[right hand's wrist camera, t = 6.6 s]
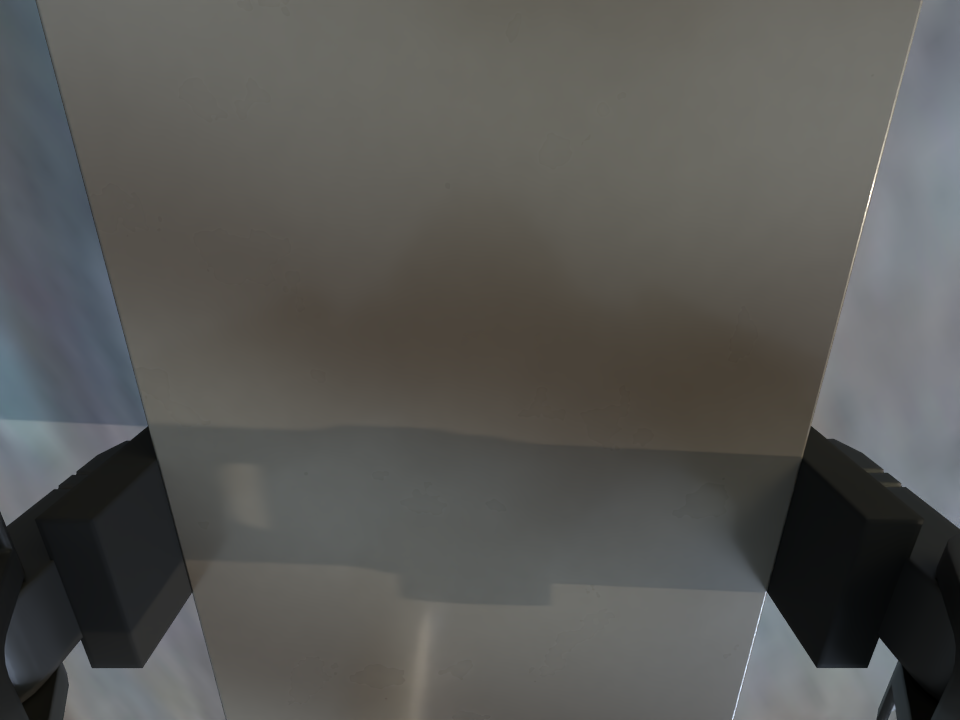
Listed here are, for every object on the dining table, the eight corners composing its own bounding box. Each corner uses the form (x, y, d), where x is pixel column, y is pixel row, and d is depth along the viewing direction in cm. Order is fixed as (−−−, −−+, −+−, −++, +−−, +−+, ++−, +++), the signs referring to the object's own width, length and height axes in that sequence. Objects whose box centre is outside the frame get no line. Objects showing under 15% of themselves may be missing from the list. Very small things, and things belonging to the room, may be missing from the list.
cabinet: (299, -112, 15) (-194, -842, 4) (659, -112, 15) (1147, -837, 4) (355, 438, 21) (226, 729, 10) (604, 438, 21) (733, 729, 10)
